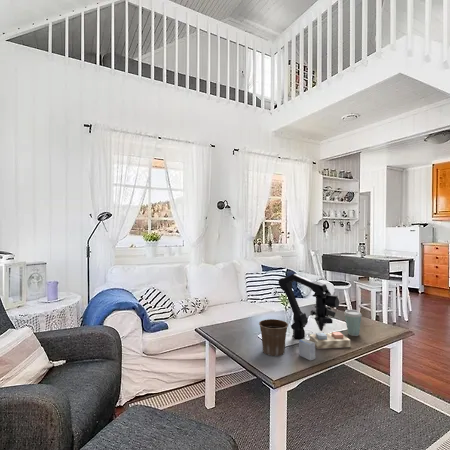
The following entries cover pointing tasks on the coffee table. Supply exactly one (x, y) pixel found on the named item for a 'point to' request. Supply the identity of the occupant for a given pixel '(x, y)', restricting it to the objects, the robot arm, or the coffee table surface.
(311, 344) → the medicine box
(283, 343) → the plant pot
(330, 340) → the key console
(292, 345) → the coffee table surface
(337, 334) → the terracotta key
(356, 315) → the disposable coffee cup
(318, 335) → the blue grey key
